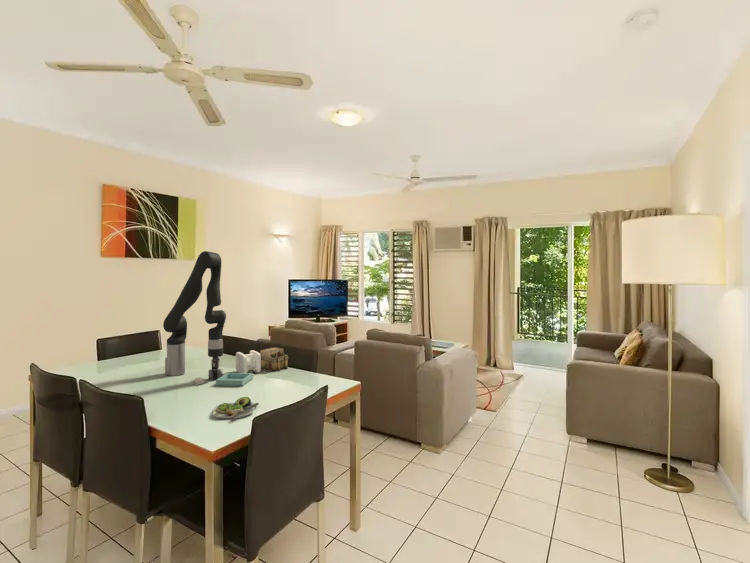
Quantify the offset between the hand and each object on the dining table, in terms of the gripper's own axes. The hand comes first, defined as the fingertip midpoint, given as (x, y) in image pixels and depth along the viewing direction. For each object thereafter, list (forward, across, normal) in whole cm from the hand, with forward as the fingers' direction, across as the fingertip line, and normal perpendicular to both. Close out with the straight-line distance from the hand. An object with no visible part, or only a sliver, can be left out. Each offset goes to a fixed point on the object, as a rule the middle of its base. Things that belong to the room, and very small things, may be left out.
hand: (215, 378), depth 211 cm
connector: (0, 0, 0) cm, 0 cm away
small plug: (0, -6, +7) cm, 10 cm away
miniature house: (+1, +15, -31) cm, 34 cm away
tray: (0, -9, -10) cm, 14 cm away
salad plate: (+1, -54, -13) cm, 56 cm away
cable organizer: (0, +10, -16) cm, 19 cm away
